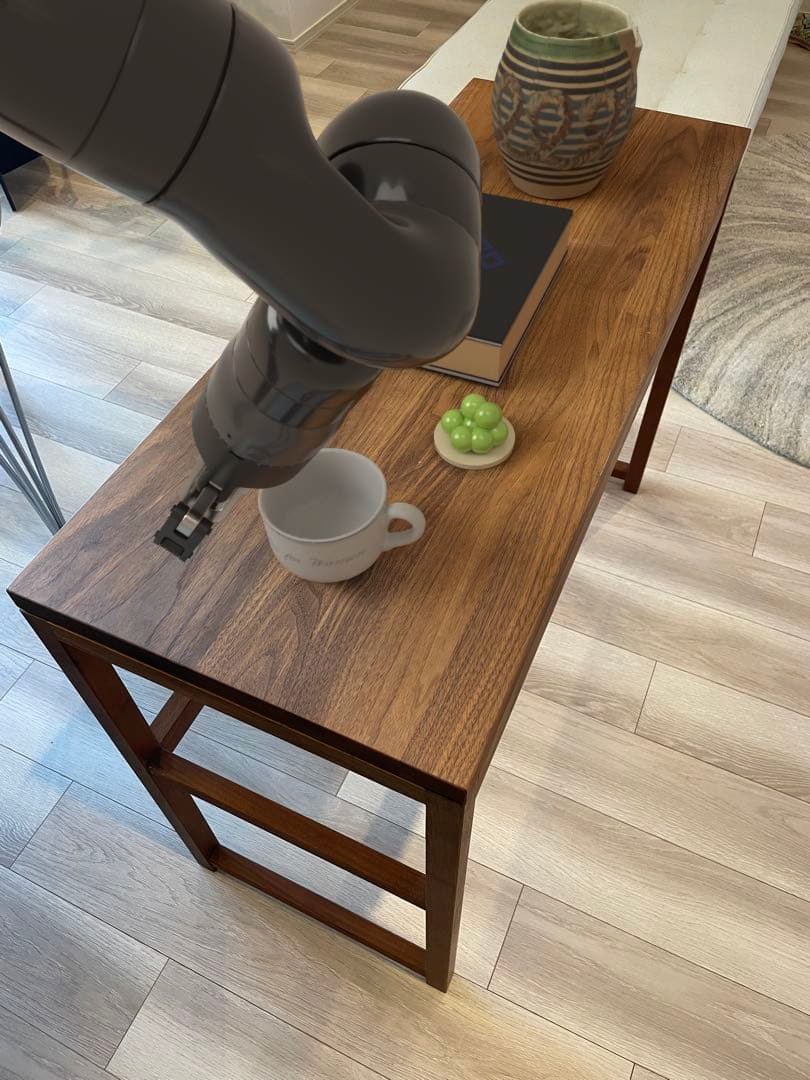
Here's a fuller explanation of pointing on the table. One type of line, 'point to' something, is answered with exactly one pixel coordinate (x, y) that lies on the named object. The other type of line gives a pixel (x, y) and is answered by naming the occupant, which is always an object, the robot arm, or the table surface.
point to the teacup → (334, 517)
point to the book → (509, 284)
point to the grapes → (474, 434)
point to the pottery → (565, 95)
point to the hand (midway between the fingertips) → (209, 492)
